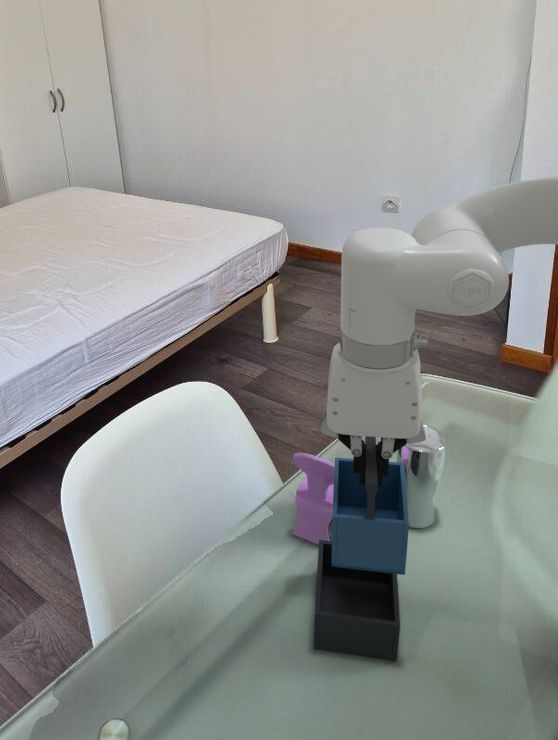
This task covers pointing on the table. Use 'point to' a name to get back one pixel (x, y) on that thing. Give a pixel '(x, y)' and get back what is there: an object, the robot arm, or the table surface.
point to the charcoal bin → (355, 610)
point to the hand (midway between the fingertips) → (370, 476)
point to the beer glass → (423, 475)
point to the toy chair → (314, 497)
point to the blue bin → (369, 516)
